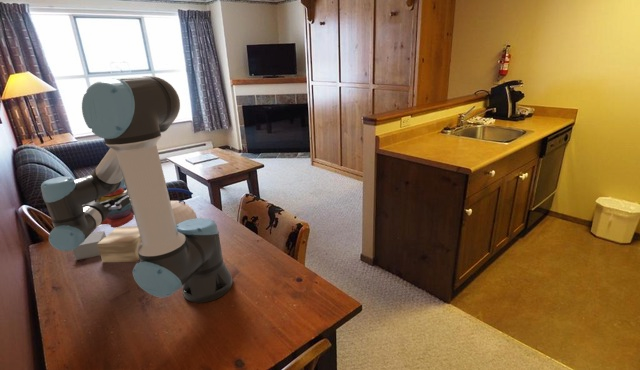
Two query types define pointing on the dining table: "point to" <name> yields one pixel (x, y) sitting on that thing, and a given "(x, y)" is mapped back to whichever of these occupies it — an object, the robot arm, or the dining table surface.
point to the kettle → (182, 208)
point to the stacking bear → (115, 216)
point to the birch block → (120, 245)
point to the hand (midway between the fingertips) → (118, 191)
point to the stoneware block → (89, 246)
